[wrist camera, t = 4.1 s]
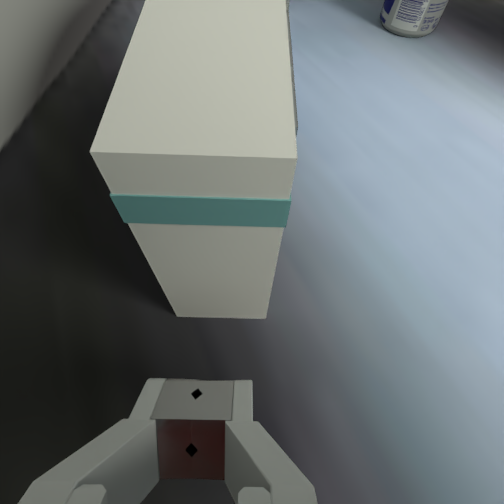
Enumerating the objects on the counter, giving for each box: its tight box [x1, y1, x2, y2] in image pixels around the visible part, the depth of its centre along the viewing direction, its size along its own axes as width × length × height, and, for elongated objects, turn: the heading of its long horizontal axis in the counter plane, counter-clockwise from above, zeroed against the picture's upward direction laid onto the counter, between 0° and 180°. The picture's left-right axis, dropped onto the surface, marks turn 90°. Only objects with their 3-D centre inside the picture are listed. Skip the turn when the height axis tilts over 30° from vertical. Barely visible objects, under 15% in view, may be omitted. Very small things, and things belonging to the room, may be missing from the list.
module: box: [90, 0, 297, 319], centre depth 15 cm, size 14×5×11 cm, turn 179°
